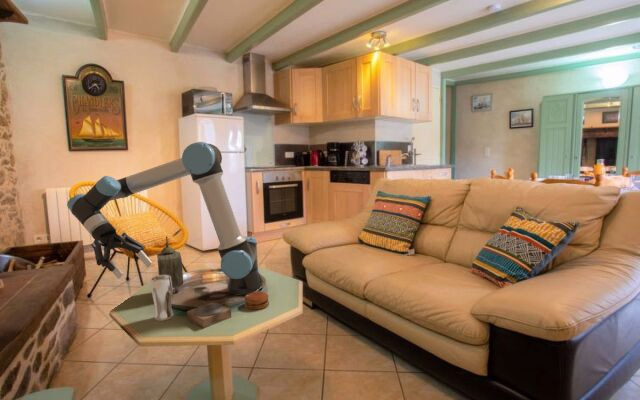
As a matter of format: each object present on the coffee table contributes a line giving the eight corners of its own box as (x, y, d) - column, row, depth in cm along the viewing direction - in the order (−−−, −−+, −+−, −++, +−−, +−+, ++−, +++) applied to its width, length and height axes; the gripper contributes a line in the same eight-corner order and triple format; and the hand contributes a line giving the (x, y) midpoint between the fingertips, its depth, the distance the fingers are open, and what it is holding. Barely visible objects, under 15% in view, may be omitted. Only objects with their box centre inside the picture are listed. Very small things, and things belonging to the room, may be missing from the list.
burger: (271, 308, 136) (270, 296, 136) (246, 312, 133) (245, 300, 133) (266, 299, 146) (266, 287, 145) (243, 302, 143) (242, 291, 142)
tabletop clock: (160, 290, 159) (155, 234, 156) (182, 286, 163) (177, 232, 160) (160, 301, 146) (155, 241, 143) (184, 297, 150) (180, 238, 147)
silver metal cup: (162, 323, 126) (158, 281, 124) (149, 319, 130) (146, 279, 128) (178, 315, 132) (175, 275, 130) (166, 311, 136) (163, 273, 134)
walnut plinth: (214, 309, 137) (214, 300, 136) (231, 317, 129) (230, 308, 129) (187, 319, 128) (186, 310, 128) (203, 328, 121) (202, 319, 121)
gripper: (122, 229, 148) (155, 266, 145) (63, 243, 124) (101, 288, 121) (131, 216, 145) (165, 254, 143) (73, 228, 122) (112, 274, 119)
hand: (136, 270), depth 132 cm, fingers open, 13 cm apart
